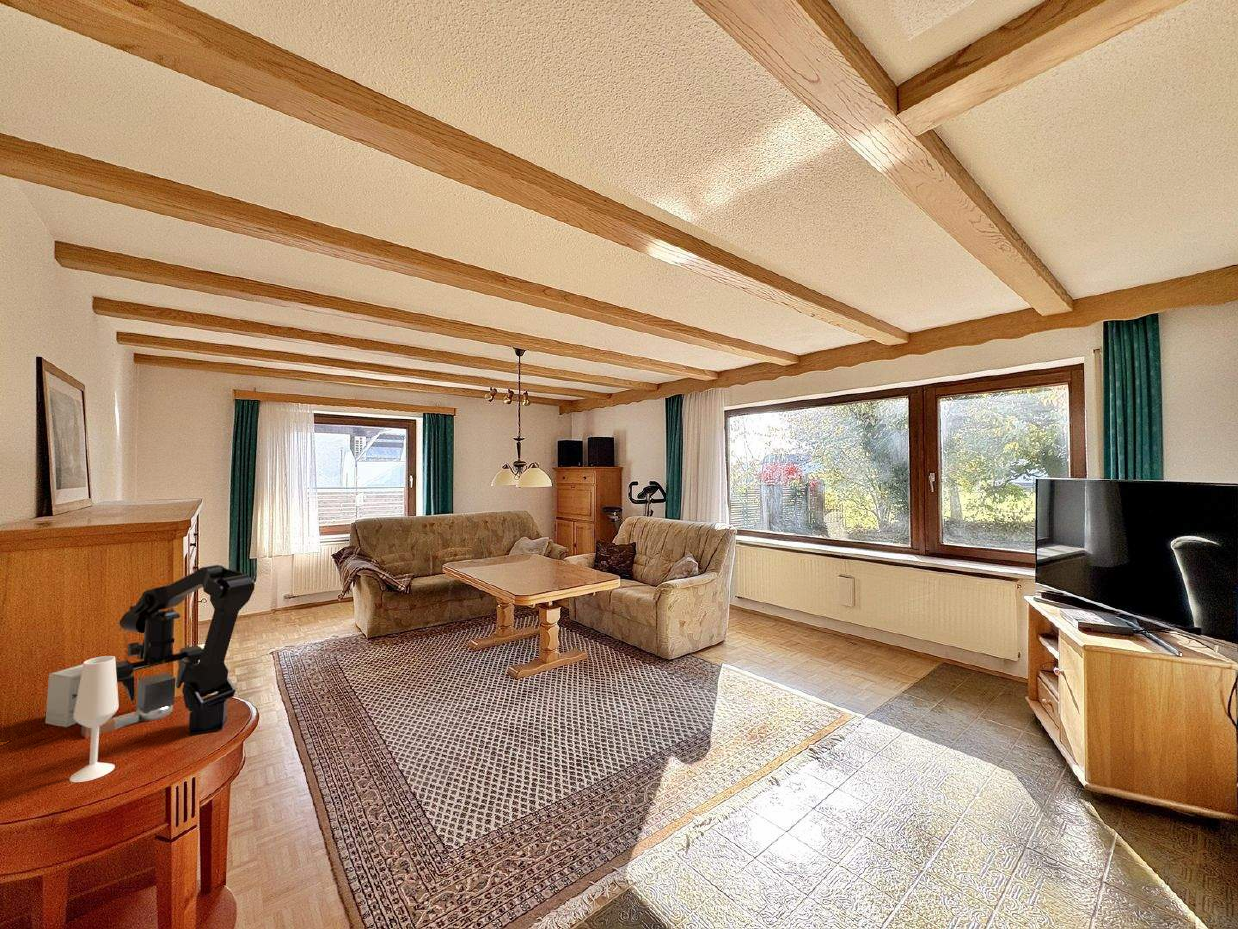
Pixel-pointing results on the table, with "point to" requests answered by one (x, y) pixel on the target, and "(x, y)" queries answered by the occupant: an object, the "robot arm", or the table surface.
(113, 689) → the champagne flute
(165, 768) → the table surface
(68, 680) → the supplement box
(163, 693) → the dark grey box
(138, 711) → the ratchet
